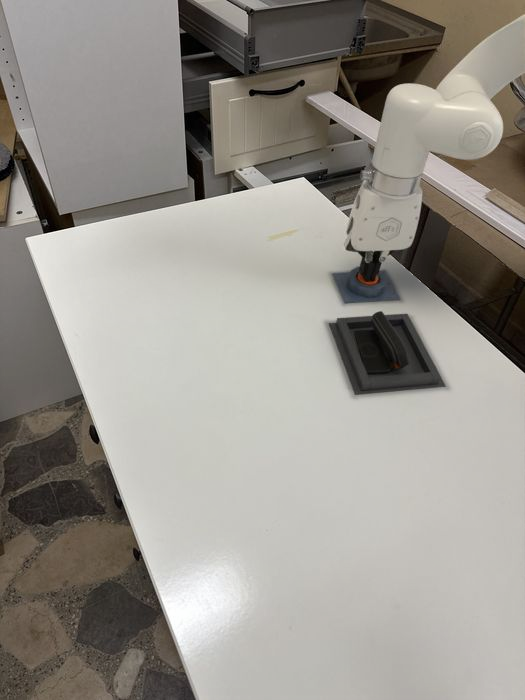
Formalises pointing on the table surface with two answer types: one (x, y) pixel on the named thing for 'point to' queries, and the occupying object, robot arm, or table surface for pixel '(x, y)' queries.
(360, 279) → the power button
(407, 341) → the dock
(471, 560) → the table surface
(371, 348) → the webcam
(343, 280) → the button base
